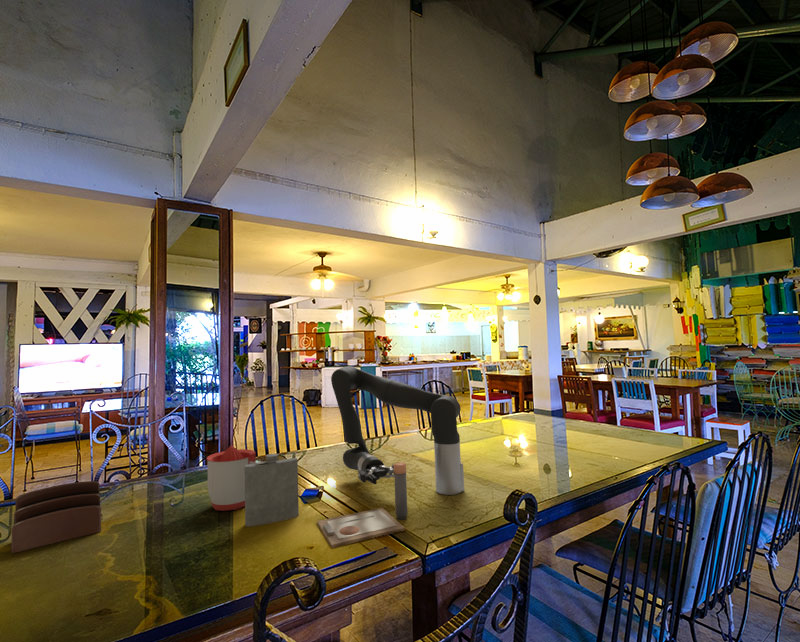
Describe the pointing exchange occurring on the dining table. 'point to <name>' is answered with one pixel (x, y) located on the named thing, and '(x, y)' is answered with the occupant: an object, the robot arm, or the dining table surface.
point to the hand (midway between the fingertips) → (387, 479)
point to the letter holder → (56, 515)
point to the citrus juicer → (228, 477)
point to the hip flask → (271, 491)
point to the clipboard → (358, 527)
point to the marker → (400, 490)
